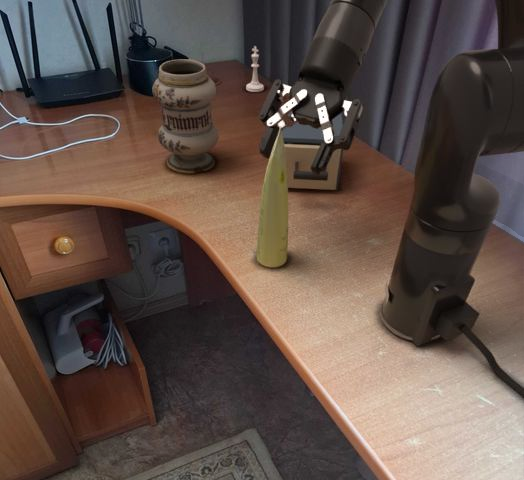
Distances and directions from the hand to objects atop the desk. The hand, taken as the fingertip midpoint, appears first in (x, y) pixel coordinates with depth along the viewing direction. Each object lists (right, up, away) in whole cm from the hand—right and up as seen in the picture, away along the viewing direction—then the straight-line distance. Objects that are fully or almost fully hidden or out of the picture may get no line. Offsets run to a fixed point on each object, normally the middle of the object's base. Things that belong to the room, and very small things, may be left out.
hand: (288, 164), depth 67 cm
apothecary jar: (-19, +12, +31) cm, 38 cm away
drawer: (+5, +7, +25) cm, 26 cm away
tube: (-2, -12, +9) cm, 15 cm away
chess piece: (-6, +45, +61) cm, 76 cm away
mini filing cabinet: (+5, +10, +29) cm, 31 cm away
